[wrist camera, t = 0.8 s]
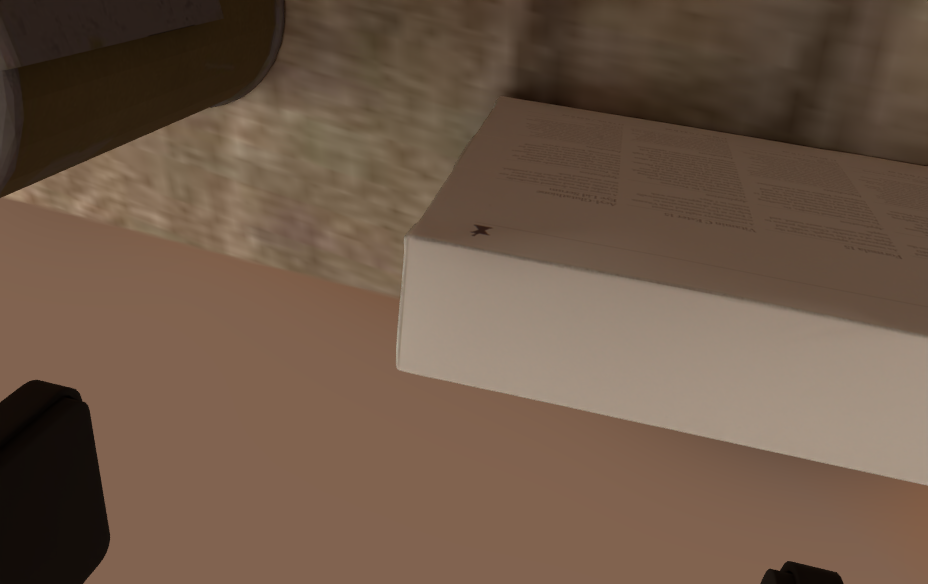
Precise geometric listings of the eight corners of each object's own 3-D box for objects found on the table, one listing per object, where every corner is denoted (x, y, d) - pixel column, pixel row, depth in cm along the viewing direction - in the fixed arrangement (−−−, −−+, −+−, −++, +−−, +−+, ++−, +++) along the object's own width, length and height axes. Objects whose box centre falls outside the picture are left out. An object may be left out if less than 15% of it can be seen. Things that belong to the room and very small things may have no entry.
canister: (130, 116, 39) (-286, 277, 22) (53, -104, 35) (-547, -127, 17) (317, 91, 36) (13, 254, 19) (259, -152, 32) (-209, -237, 14)
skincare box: (482, 202, 37) (385, 373, 23) (497, 92, 34) (398, 212, 20) (927, 285, 34) (1122, 539, 20) (980, 173, 31) (1245, 376, 18)
